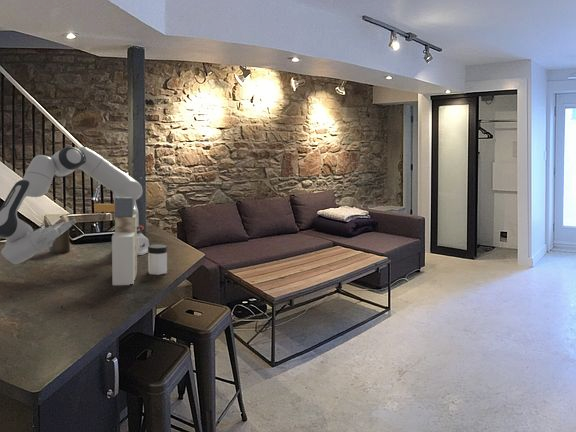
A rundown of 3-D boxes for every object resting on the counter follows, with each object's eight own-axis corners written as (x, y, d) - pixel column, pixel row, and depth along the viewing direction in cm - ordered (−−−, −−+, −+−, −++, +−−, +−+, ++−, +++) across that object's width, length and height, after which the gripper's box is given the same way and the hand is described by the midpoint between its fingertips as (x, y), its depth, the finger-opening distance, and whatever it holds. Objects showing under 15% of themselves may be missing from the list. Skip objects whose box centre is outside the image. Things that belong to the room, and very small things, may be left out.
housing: (93, 217, 199) (93, 197, 198) (96, 214, 206) (95, 196, 205) (132, 217, 203) (132, 198, 202) (133, 214, 209) (133, 196, 208)
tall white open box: (112, 285, 193) (111, 236, 190) (115, 279, 202) (114, 232, 199) (133, 284, 195) (132, 236, 192) (135, 278, 204) (134, 232, 201)
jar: (160, 268, 221) (160, 243, 219) (171, 272, 216) (171, 246, 214) (143, 272, 214) (143, 246, 213) (154, 275, 209) (154, 249, 208)
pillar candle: (73, 251, 248) (73, 223, 246) (56, 254, 240) (55, 225, 238) (62, 249, 253) (61, 221, 251) (44, 252, 245) (43, 223, 243)
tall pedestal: (115, 277, 204) (115, 217, 200) (118, 272, 212) (117, 214, 209) (135, 277, 206) (135, 217, 202) (137, 272, 214) (136, 214, 211)
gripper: (30, 237, 189) (62, 220, 190) (44, 228, 208) (73, 212, 210) (39, 250, 190) (71, 233, 192) (52, 240, 210) (81, 225, 211)
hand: (72, 222), depth 201 cm, fingers open, 8 cm apart
